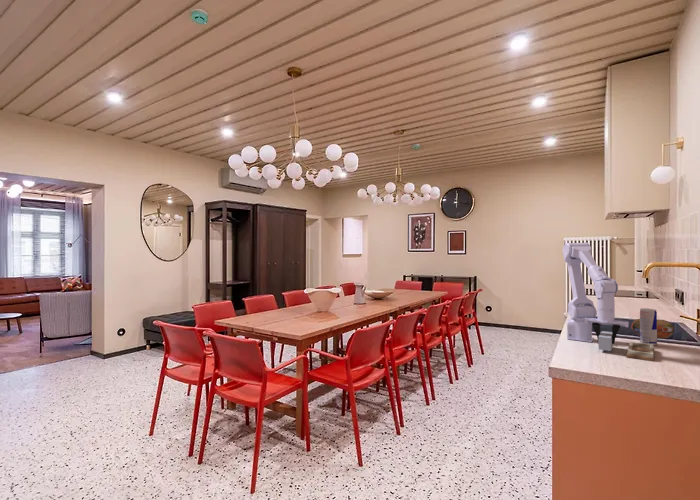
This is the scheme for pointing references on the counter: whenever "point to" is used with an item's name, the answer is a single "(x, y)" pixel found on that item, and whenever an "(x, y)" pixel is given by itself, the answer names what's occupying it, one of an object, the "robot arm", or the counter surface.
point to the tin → (663, 328)
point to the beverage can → (648, 326)
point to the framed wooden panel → (641, 351)
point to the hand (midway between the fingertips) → (606, 342)
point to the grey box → (605, 341)
